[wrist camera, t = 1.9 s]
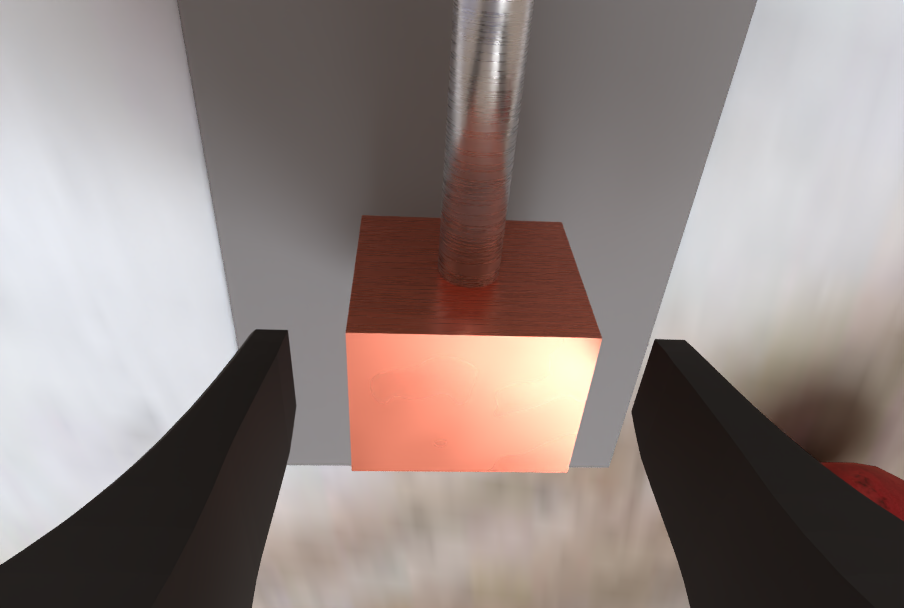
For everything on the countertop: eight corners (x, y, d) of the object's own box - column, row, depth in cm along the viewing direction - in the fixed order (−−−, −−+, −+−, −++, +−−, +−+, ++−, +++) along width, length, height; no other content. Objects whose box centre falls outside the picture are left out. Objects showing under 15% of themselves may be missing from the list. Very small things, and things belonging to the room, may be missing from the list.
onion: (807, 388, 21) (974, 637, 15) (920, 442, 23) (1111, 684, 17) (685, 489, 24) (781, 733, 18) (794, 529, 26) (916, 763, 20)
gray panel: (78, -591, 9) (72, -598, 9) (907, -494, 10) (915, -499, 10) (259, 459, 22) (258, 464, 22) (607, 463, 23) (609, 467, 23)
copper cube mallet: (335, -913, 7) (258, -1600, 3) (760, -847, 7) (1060, -1423, 4) (364, 342, 16) (351, 471, 13) (538, 345, 17) (567, 472, 13)
